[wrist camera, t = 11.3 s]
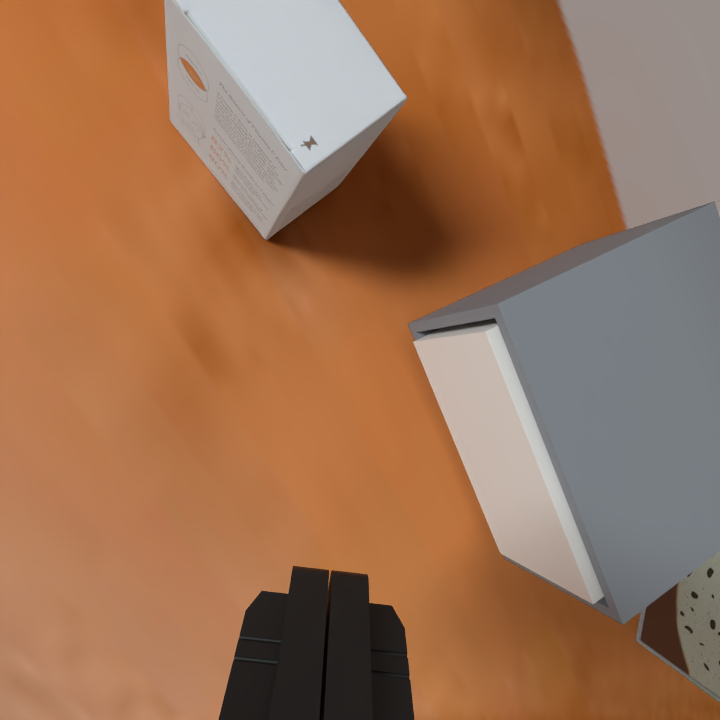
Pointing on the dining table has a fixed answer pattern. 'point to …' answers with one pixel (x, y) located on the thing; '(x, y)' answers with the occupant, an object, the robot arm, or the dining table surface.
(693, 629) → the food container
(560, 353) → the sleeve
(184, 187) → the dining table surface
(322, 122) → the small box
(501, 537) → the white cuboid
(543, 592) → the dining table surface
